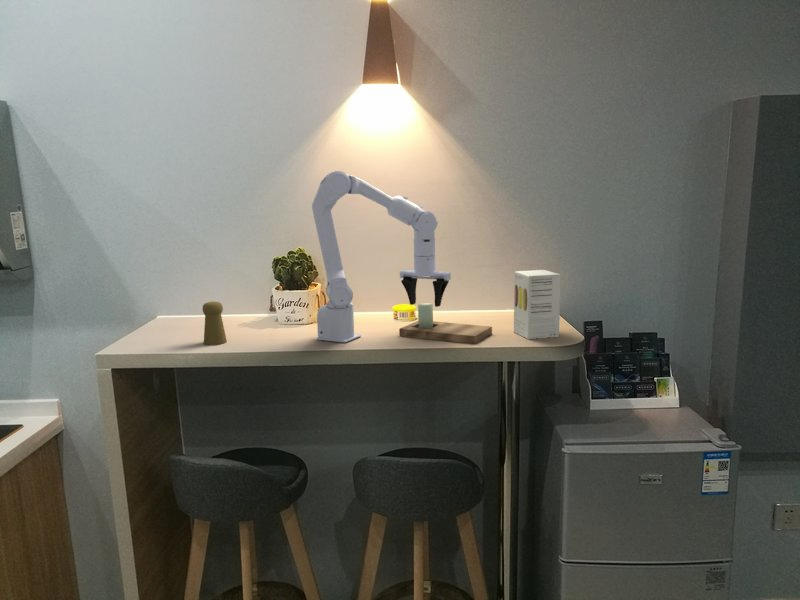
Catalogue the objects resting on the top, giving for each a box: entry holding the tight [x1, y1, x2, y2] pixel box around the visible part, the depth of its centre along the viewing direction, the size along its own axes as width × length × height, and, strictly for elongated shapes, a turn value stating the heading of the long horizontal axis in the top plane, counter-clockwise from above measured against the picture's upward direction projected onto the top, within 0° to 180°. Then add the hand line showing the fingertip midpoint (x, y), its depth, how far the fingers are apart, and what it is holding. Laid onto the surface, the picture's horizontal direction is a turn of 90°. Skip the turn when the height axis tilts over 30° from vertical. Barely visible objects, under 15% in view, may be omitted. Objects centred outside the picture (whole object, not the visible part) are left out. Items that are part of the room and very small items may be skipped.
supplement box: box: [513, 269, 562, 340], centre depth 170 cm, size 10×9×17 cm
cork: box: [202, 301, 227, 346], centre depth 170 cm, size 6×6×11 cm
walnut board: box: [398, 320, 493, 345], centre depth 173 cm, size 22×12×2 cm, turn 61°
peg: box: [417, 302, 434, 329], centre depth 176 cm, size 4×4×8 cm
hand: (425, 305), depth 175 cm, fingers open, 7 cm apart
